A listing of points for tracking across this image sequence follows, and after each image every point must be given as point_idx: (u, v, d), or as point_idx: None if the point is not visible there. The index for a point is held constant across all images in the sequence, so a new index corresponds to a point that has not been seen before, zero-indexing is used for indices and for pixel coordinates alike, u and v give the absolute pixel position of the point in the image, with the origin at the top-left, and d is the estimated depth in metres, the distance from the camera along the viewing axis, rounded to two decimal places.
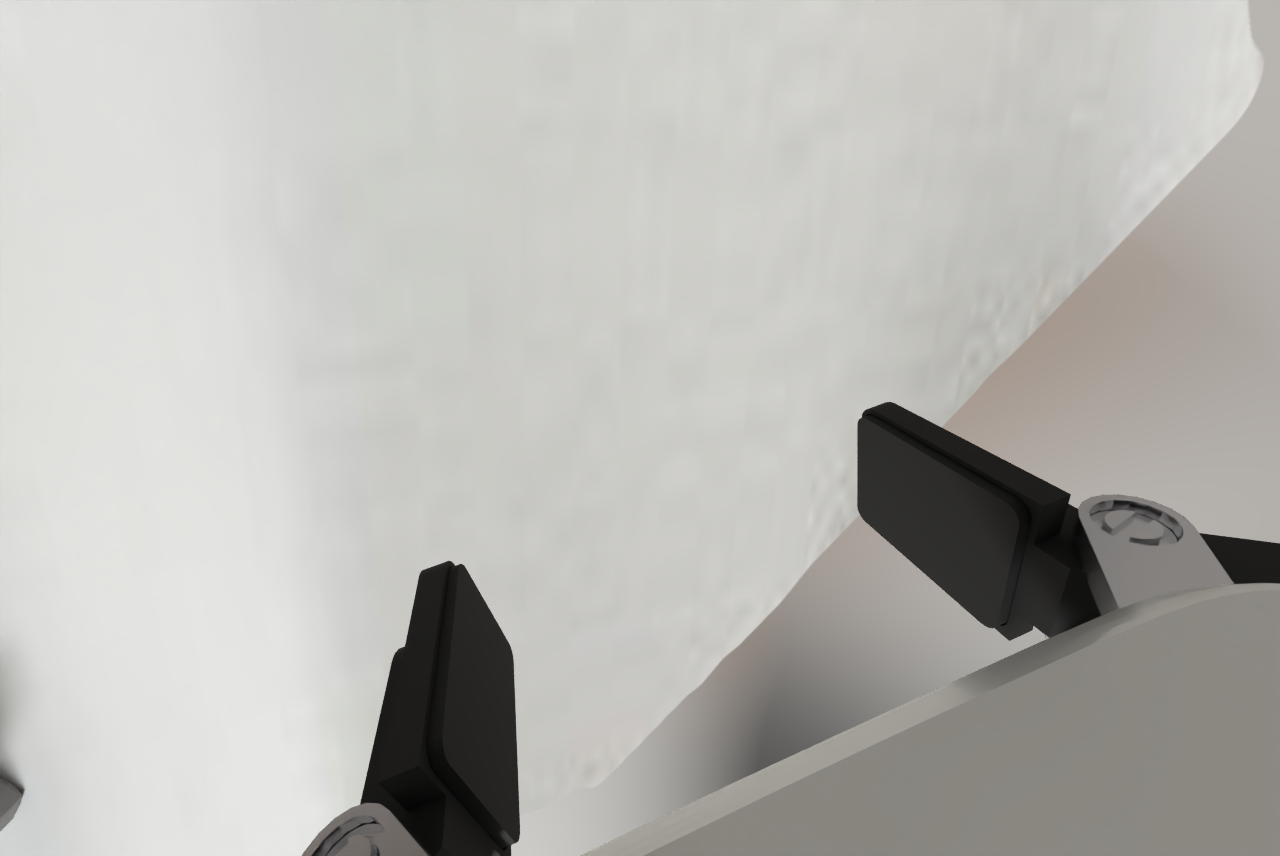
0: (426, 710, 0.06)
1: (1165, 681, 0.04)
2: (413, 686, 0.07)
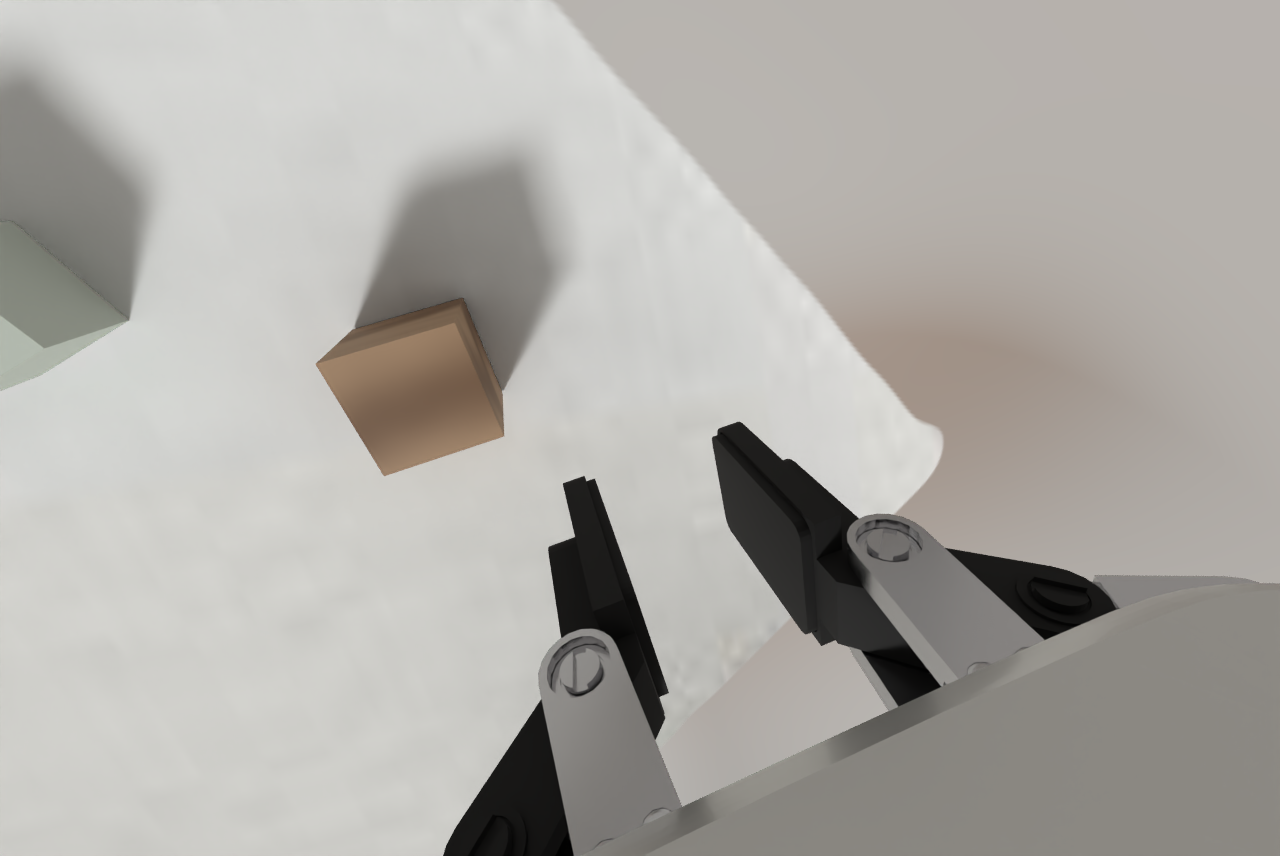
0: (613, 567, 0.08)
1: (1165, 681, 0.04)
2: (594, 554, 0.08)
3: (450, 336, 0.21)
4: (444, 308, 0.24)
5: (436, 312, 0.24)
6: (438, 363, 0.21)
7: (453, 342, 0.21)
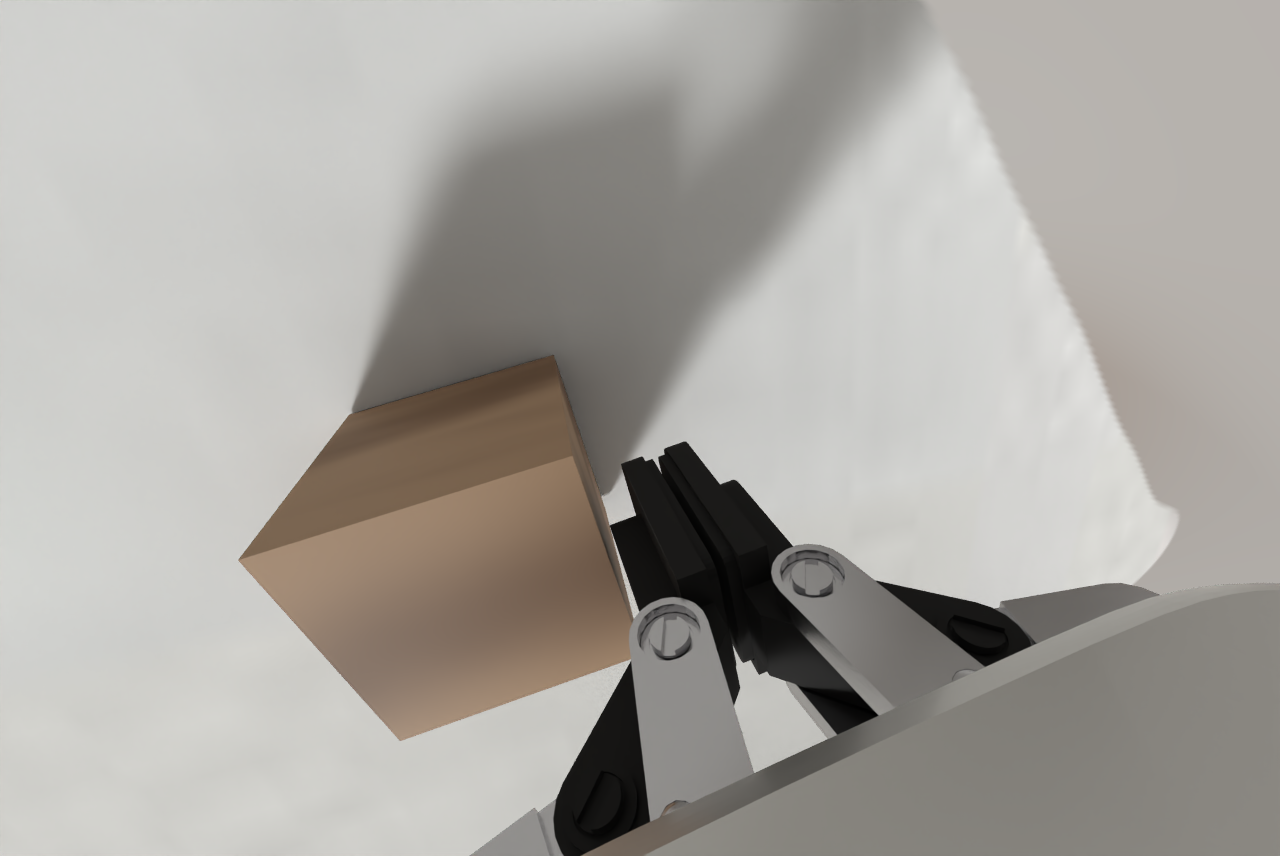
0: (689, 540, 0.08)
1: (1165, 681, 0.04)
2: (667, 528, 0.08)
3: (559, 484, 0.09)
4: (525, 384, 0.12)
5: (511, 394, 0.12)
6: (528, 539, 0.09)
7: (564, 496, 0.09)
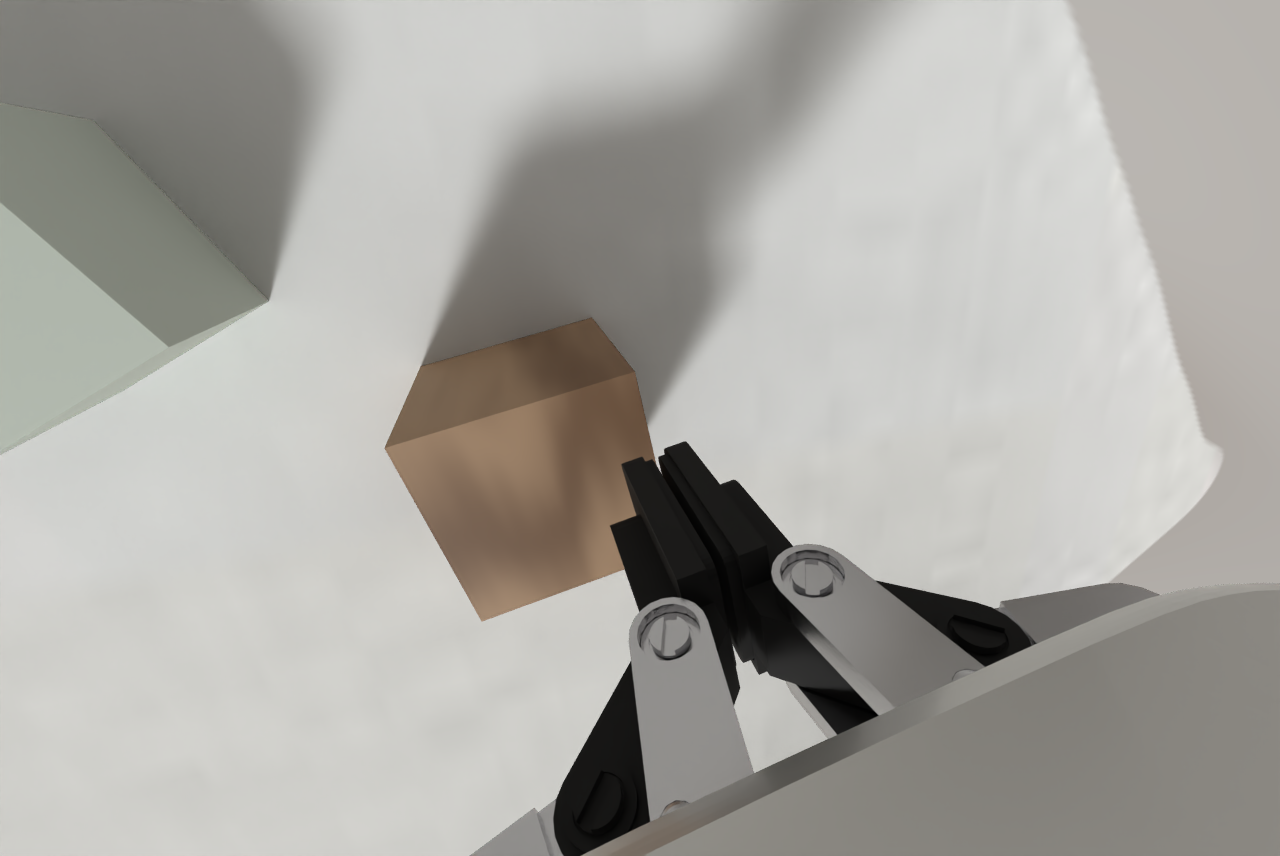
0: (690, 540, 0.08)
1: (1165, 681, 0.04)
2: (667, 528, 0.08)
3: None
4: (563, 380, 0.12)
5: (546, 380, 0.12)
6: None
7: None
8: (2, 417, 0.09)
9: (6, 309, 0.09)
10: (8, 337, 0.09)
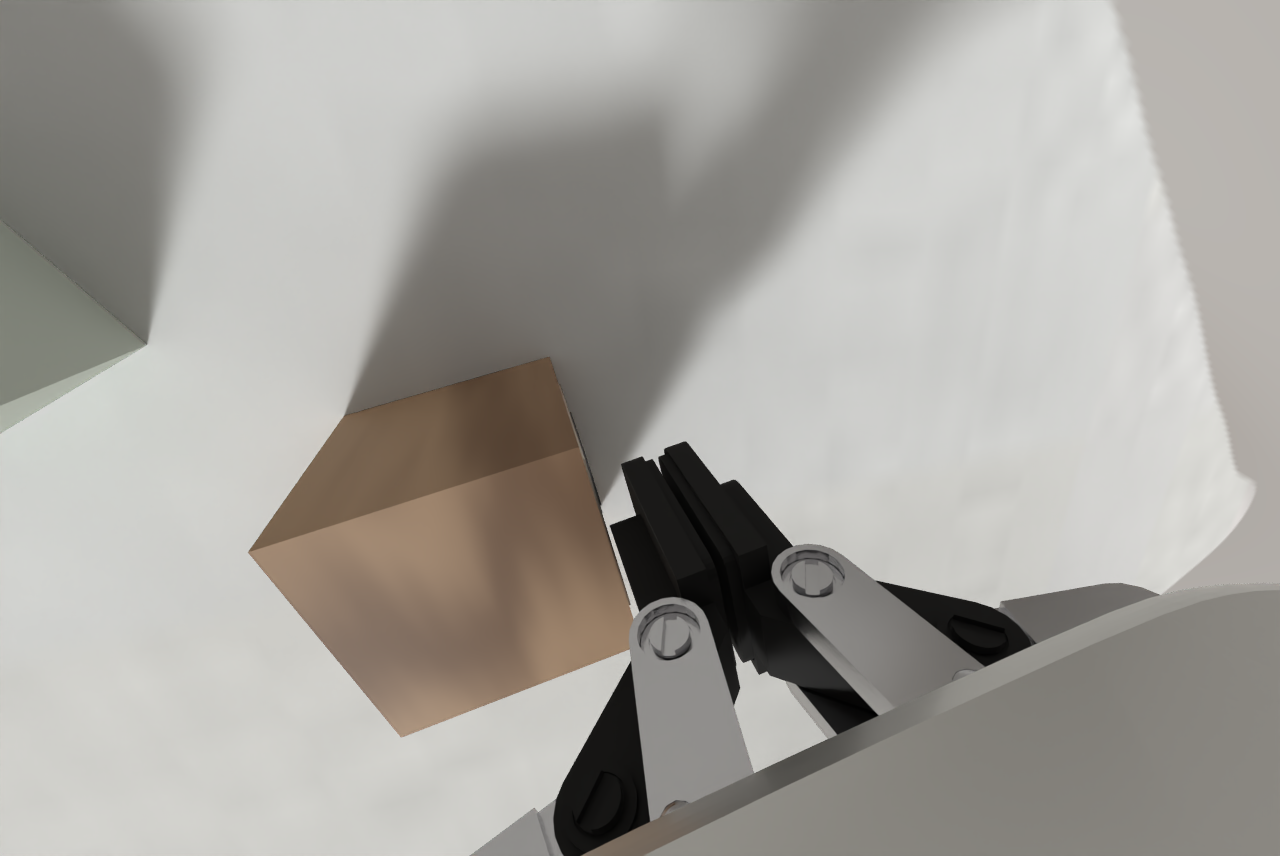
0: (690, 540, 0.08)
1: (1165, 681, 0.04)
2: (667, 528, 0.08)
3: None
4: (491, 453, 0.10)
5: (472, 451, 0.10)
6: None
7: None
8: None
9: None
10: None
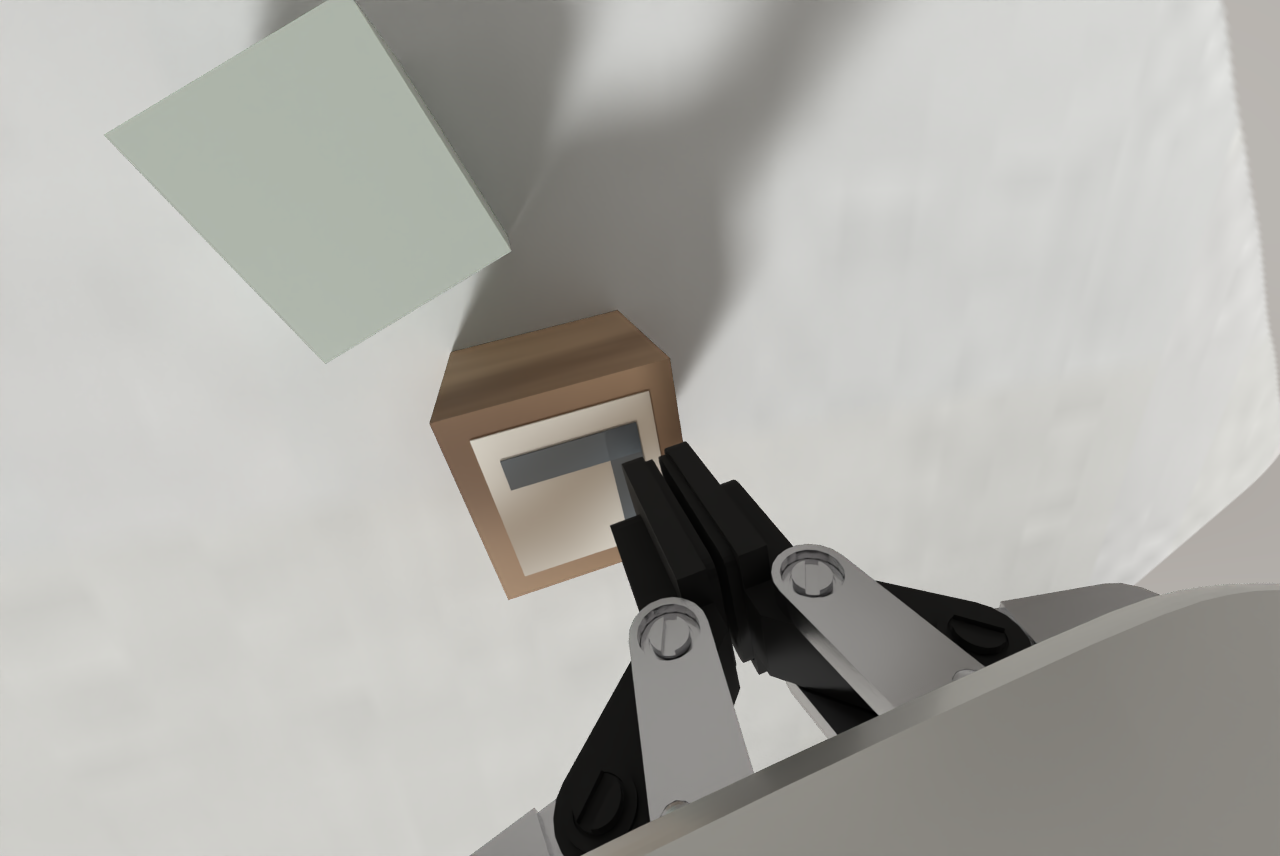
0: (689, 540, 0.08)
1: (1165, 681, 0.04)
2: (667, 528, 0.08)
3: None
4: (470, 388, 0.13)
5: (484, 379, 0.13)
6: None
7: None
8: (372, 309, 0.11)
9: (400, 208, 0.10)
10: (395, 234, 0.10)
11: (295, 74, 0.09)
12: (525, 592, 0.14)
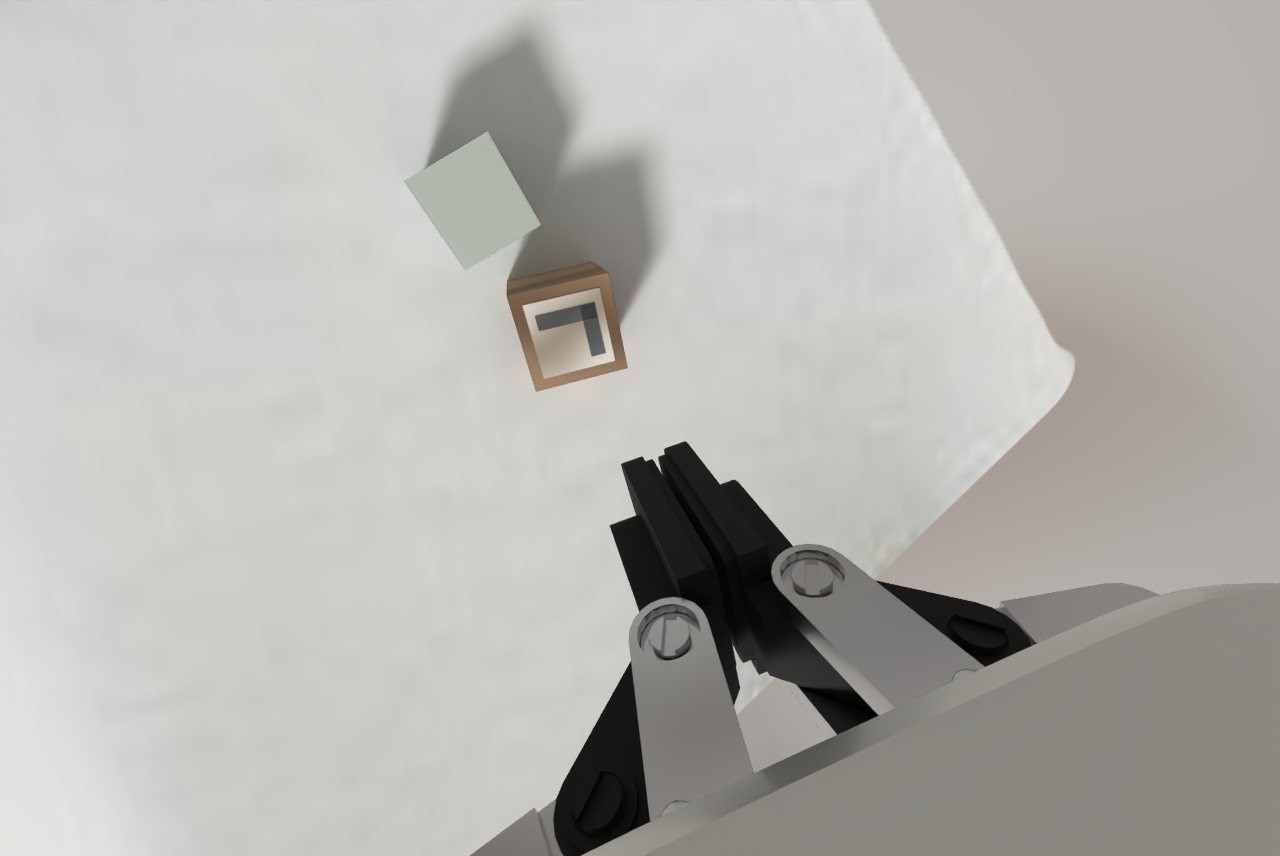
0: (690, 540, 0.08)
1: (1165, 681, 0.04)
2: (667, 528, 0.08)
3: None
4: (520, 287, 0.28)
5: (527, 285, 0.29)
6: None
7: None
8: (485, 247, 0.26)
9: (499, 207, 0.26)
10: (496, 217, 0.26)
11: (467, 159, 0.24)
12: (543, 388, 0.29)
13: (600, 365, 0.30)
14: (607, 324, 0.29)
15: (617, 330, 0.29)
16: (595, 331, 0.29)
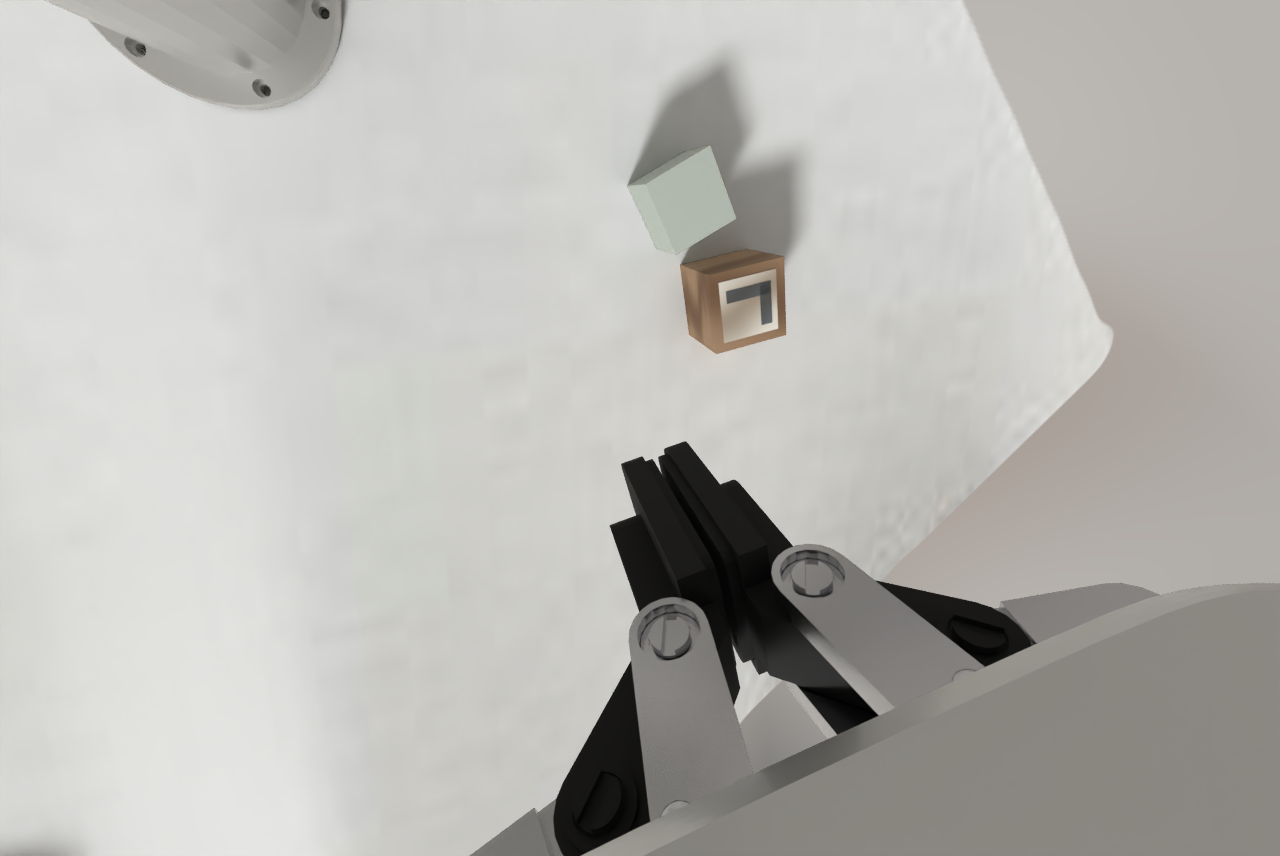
0: (690, 540, 0.08)
1: (1165, 681, 0.04)
2: (667, 528, 0.08)
3: None
4: (710, 269, 0.35)
5: (712, 267, 0.36)
6: None
7: None
8: (694, 236, 0.33)
9: (709, 204, 0.32)
10: (705, 212, 0.33)
11: (692, 167, 0.31)
12: (722, 351, 0.36)
13: (766, 332, 0.37)
14: (776, 298, 0.36)
15: (783, 303, 0.36)
16: (767, 304, 0.36)
